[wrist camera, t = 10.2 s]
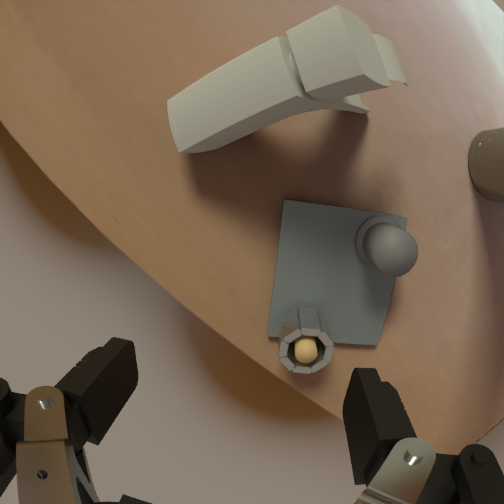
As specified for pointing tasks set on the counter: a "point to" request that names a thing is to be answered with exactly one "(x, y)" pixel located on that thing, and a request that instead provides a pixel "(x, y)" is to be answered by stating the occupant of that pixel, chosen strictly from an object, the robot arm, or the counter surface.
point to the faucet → (285, 81)
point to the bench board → (338, 270)
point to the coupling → (310, 325)
